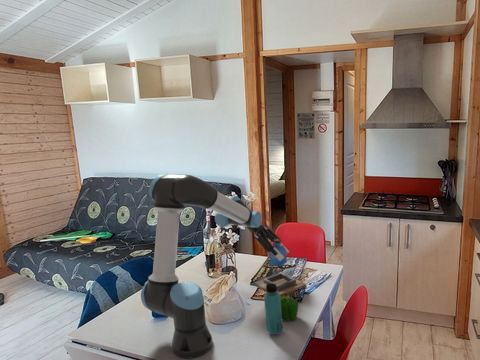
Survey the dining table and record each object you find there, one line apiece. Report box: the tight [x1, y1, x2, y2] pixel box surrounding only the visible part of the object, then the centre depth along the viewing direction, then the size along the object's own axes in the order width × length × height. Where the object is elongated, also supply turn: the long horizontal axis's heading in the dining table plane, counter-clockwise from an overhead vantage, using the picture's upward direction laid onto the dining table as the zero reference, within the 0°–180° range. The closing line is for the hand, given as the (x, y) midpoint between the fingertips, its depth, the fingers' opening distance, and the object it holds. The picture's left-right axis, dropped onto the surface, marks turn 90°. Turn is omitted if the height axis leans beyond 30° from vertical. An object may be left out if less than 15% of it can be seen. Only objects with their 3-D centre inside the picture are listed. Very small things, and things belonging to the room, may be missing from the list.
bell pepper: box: [280, 295, 299, 322], centre depth 151 cm, size 8×8×10 cm
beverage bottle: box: [263, 283, 284, 335], centre depth 141 cm, size 6×7×20 cm
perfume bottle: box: [268, 238, 288, 268], centre depth 178 cm, size 6×6×12 cm
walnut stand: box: [253, 271, 307, 297], centre depth 180 cm, size 18×18×4 cm
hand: (284, 256), depth 177 cm, fingers closed on perfume bottle, 7 cm apart
